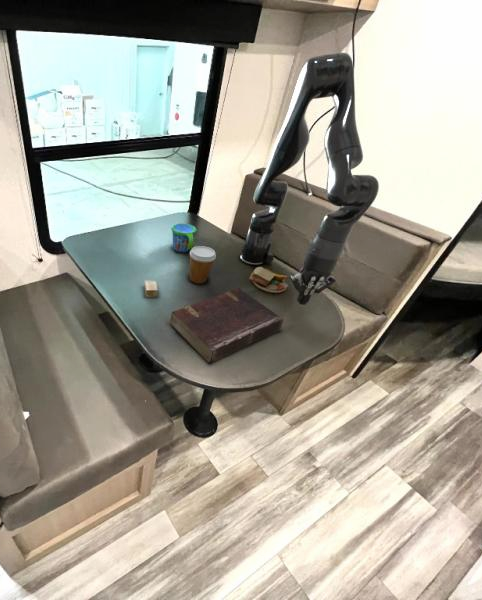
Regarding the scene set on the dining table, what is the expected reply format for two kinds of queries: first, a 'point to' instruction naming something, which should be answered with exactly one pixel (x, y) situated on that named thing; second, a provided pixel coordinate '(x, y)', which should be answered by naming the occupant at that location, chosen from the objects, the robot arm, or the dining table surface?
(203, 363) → the dining table surface
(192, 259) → the disposable coffee cup
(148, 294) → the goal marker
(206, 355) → the hardback book
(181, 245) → the snack cup
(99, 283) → the dining table surface
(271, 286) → the toy sandwich meal
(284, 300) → the dining table surface
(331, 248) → the robot arm
